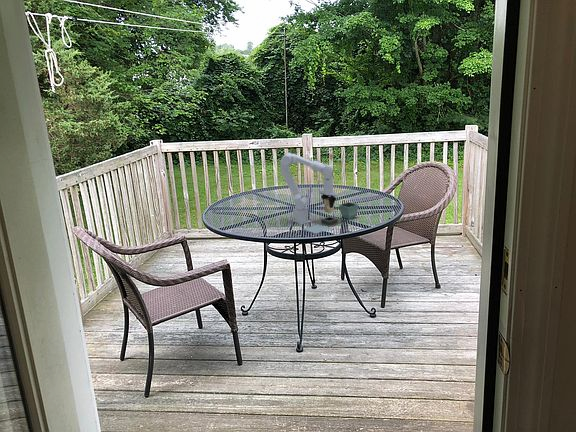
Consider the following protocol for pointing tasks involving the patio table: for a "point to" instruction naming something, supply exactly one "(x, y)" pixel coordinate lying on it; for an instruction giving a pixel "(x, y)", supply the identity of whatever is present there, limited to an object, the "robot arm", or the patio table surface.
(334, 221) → the socket base
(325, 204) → the peg
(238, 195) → the patio table surface
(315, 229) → the board
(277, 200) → the patio table surface
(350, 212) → the flower pot
